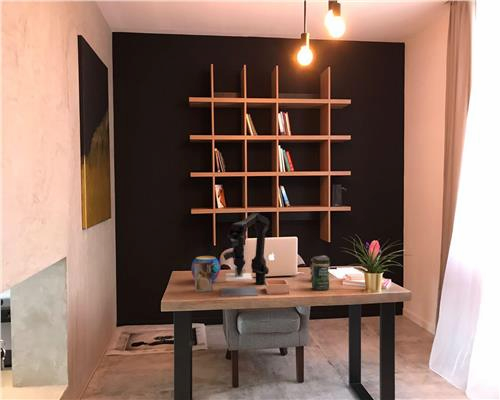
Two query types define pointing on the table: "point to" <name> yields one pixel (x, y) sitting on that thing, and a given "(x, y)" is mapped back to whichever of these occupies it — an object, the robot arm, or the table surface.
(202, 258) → the ceramic pot
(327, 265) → the coffee jar
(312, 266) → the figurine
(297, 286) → the table surface
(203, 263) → the coffee box
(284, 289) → the open box
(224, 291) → the mat
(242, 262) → the robot arm
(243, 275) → the lid
